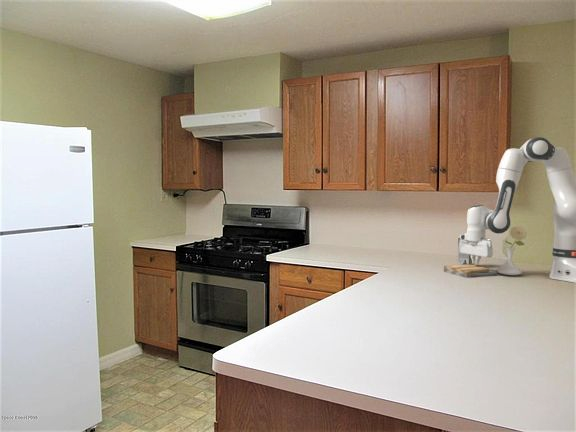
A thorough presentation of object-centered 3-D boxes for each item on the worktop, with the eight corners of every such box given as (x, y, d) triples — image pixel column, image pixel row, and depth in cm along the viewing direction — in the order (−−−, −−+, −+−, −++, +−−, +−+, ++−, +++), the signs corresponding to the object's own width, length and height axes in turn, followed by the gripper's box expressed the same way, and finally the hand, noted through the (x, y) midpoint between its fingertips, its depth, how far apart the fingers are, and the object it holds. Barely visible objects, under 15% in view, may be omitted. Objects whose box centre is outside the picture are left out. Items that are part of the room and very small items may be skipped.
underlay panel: (497, 275, 235) (497, 269, 235) (466, 277, 229) (466, 271, 228) (473, 269, 251) (473, 264, 251) (443, 271, 245) (443, 265, 244)
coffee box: (462, 265, 266) (463, 236, 265) (474, 266, 262) (475, 237, 261) (457, 267, 259) (458, 238, 258) (469, 268, 255) (470, 238, 254)
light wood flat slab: (489, 271, 234) (489, 268, 234) (469, 273, 230) (469, 270, 230) (468, 266, 248) (468, 264, 248) (449, 268, 244) (449, 265, 244)
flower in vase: (495, 275, 235) (497, 225, 233) (497, 271, 245) (499, 223, 243) (525, 278, 228) (527, 226, 227) (525, 274, 239) (527, 225, 237)
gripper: (496, 238, 231) (495, 266, 231) (467, 235, 250) (467, 260, 251) (485, 239, 229) (485, 267, 229) (457, 235, 248) (457, 261, 249)
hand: (475, 264), depth 240 cm, fingers closed
